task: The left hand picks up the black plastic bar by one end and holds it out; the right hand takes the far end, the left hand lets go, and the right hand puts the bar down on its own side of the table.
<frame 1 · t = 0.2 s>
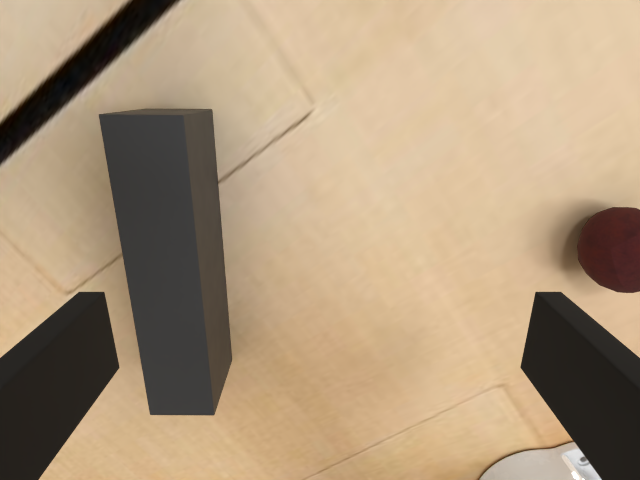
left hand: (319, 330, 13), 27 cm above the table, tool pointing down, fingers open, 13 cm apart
bar: (193, 248, 41), on the table
dark maroon ball: (598, 234, 41), on the table
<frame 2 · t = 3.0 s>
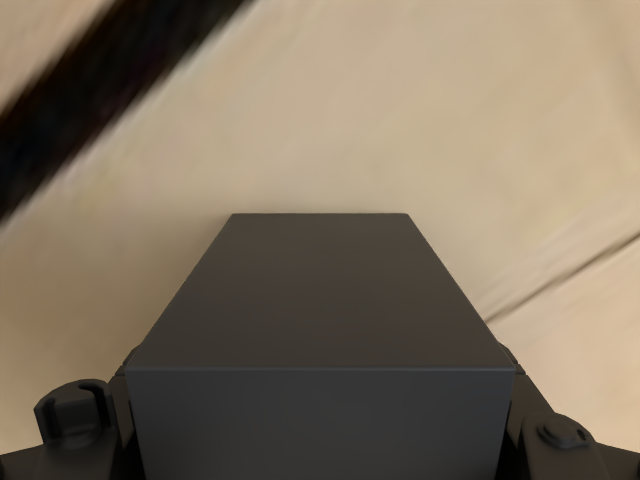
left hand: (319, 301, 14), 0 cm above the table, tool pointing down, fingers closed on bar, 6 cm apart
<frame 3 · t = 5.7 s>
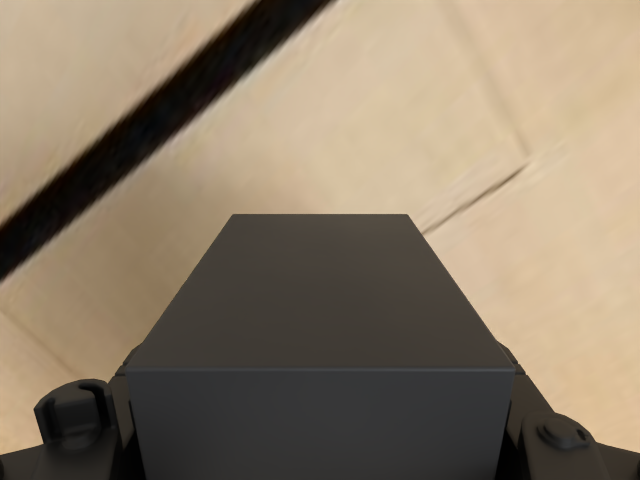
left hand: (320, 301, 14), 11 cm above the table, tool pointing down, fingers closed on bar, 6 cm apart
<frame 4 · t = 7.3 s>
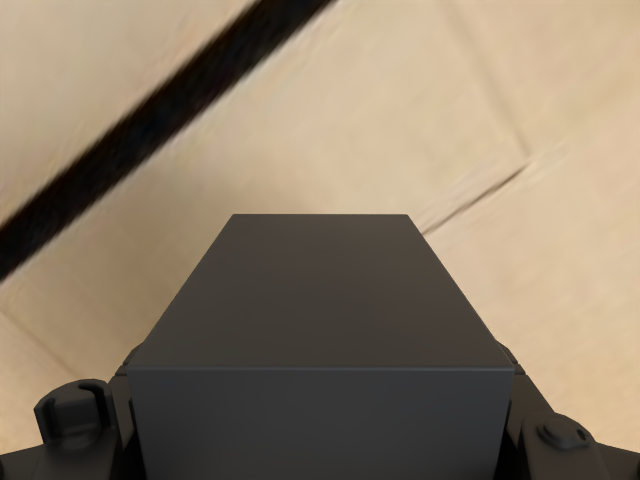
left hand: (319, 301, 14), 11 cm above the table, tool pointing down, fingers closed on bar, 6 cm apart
when the left hand's fingers open (11 cm above the table, at t = 8.3 s): bar stays where it is, held by the right hand.
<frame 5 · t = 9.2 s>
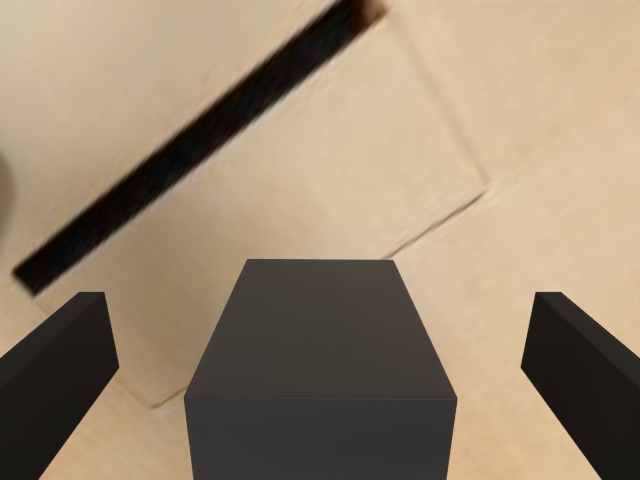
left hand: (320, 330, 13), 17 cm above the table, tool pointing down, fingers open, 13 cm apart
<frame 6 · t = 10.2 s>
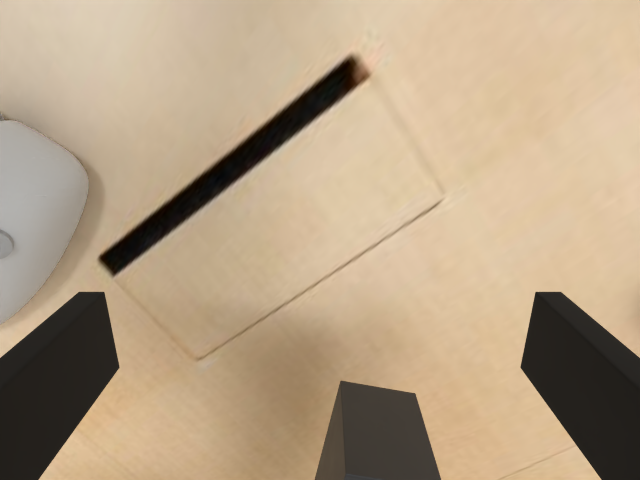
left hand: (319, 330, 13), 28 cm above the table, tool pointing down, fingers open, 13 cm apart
projector: (2, 219, 40), on the table
when the right hand's fingers open (4 cm above the table, at t = 13.4 s): bar stays where it is, on the table.
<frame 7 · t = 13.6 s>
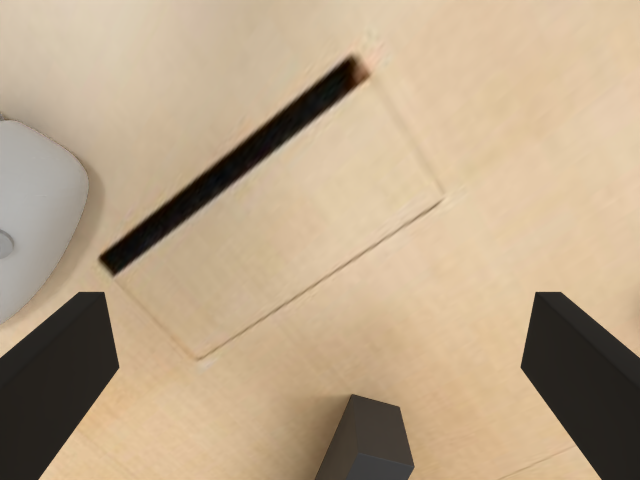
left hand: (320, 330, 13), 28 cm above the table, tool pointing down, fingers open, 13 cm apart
projector: (2, 219, 40), on the table
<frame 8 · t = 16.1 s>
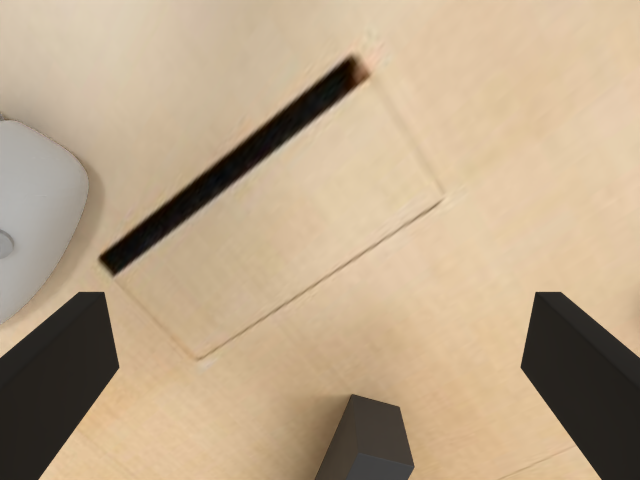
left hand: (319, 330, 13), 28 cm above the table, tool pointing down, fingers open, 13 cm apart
projector: (2, 219, 40), on the table
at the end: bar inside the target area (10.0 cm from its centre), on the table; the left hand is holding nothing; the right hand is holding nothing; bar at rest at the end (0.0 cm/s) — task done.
